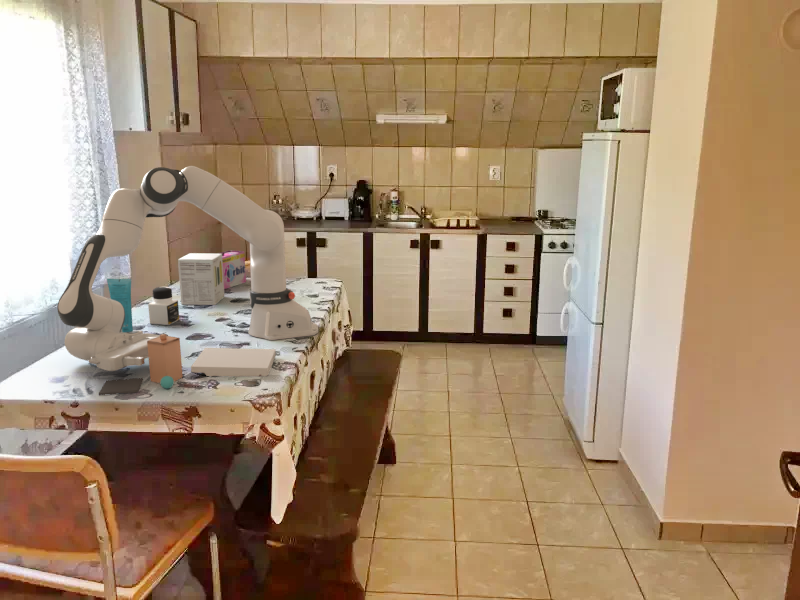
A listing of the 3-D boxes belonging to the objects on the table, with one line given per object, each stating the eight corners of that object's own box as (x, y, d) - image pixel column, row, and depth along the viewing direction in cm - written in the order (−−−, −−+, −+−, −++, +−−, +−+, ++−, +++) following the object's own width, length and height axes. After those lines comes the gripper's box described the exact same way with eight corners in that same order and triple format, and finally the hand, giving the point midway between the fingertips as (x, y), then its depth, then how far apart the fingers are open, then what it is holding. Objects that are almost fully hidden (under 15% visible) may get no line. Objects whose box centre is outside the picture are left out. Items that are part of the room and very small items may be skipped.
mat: (143, 379, 173) (143, 377, 173) (137, 392, 164) (137, 390, 164) (106, 382, 171) (106, 380, 171) (98, 395, 162) (98, 393, 162)
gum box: (212, 293, 266) (210, 260, 262) (196, 292, 268) (194, 259, 265) (246, 282, 287) (245, 251, 284) (231, 280, 290) (229, 249, 287)
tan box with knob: (166, 374, 177) (162, 330, 174) (182, 377, 175) (179, 333, 172) (150, 381, 172) (146, 336, 169) (167, 384, 170) (163, 339, 167)
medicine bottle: (168, 325, 221) (165, 290, 219) (149, 324, 223) (146, 289, 220) (179, 319, 228) (177, 286, 225) (161, 318, 230) (158, 284, 227)
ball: (174, 385, 169) (173, 373, 168) (173, 390, 166) (172, 378, 165) (161, 386, 168) (160, 374, 168) (160, 390, 165) (159, 378, 165)
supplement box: (215, 305, 248) (212, 259, 244) (180, 304, 248) (177, 259, 244) (225, 296, 261) (222, 253, 256) (192, 296, 261) (189, 252, 257)
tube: (139, 335, 210) (133, 276, 205) (134, 340, 205) (129, 280, 201) (114, 336, 209) (108, 277, 204) (109, 341, 204) (103, 280, 200)
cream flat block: (275, 360, 191) (205, 358, 190) (275, 349, 190) (205, 347, 189) (267, 379, 176) (191, 378, 175) (267, 368, 175) (191, 366, 174)
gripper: (83, 349, 168) (124, 356, 163) (142, 328, 186) (181, 334, 181) (85, 372, 170) (126, 380, 164) (144, 349, 188) (183, 356, 183)
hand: (155, 356), depth 173 cm, fingers open, 8 cm apart
